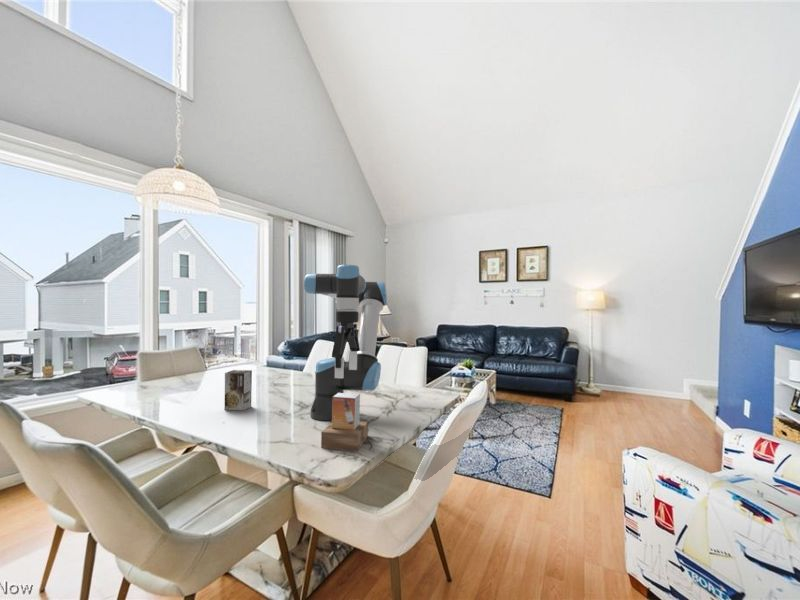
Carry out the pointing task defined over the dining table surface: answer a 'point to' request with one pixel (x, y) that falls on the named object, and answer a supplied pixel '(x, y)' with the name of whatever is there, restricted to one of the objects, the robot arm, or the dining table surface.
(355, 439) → the walnut block
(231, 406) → the coffee box
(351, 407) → the small box
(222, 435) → the dining table surface
